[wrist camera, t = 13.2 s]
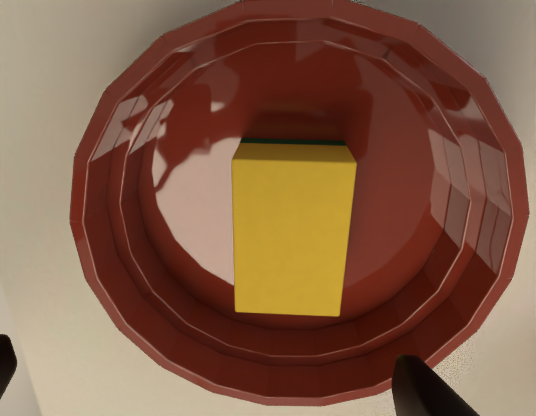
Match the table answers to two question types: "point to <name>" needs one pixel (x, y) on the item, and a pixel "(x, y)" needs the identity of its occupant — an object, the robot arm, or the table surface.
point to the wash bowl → (363, 206)
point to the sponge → (291, 224)
